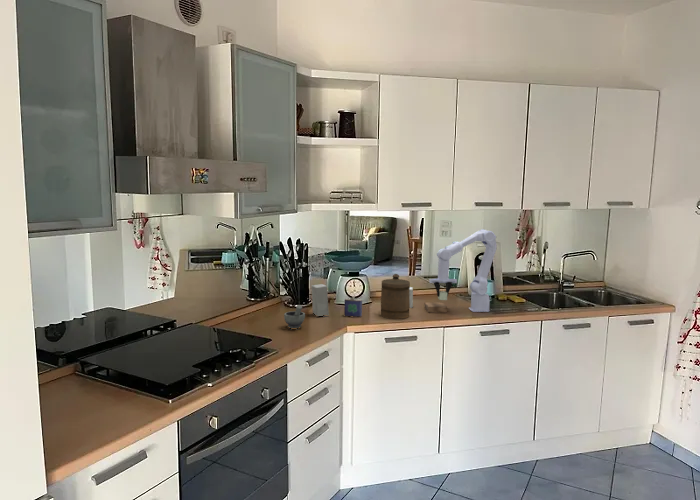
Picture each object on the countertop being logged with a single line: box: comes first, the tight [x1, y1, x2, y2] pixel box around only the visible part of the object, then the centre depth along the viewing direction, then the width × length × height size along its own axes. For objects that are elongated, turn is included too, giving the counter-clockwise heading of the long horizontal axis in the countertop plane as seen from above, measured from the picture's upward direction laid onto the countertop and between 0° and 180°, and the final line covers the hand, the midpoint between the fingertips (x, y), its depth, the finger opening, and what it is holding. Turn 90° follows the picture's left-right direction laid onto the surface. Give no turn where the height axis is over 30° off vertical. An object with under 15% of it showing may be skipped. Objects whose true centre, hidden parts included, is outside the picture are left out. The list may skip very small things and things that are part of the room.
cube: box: [437, 290, 448, 301], centre depth 289 cm, size 4×4×4 cm
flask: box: [343, 295, 363, 318], centre depth 278 cm, size 9×3×11 cm, turn 78°
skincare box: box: [311, 283, 330, 317], centre depth 279 cm, size 8×7×16 cm
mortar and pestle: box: [283, 304, 306, 328], centre depth 255 cm, size 11×9×12 cm
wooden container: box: [380, 273, 411, 320], centre depth 280 cm, size 15×15×22 cm
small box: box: [409, 286, 414, 309], centre depth 301 cm, size 8×6×10 cm
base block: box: [424, 302, 448, 313], centre depth 293 cm, size 10×10×3 cm
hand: (442, 296), depth 289 cm, fingers closed on cube, 4 cm apart
